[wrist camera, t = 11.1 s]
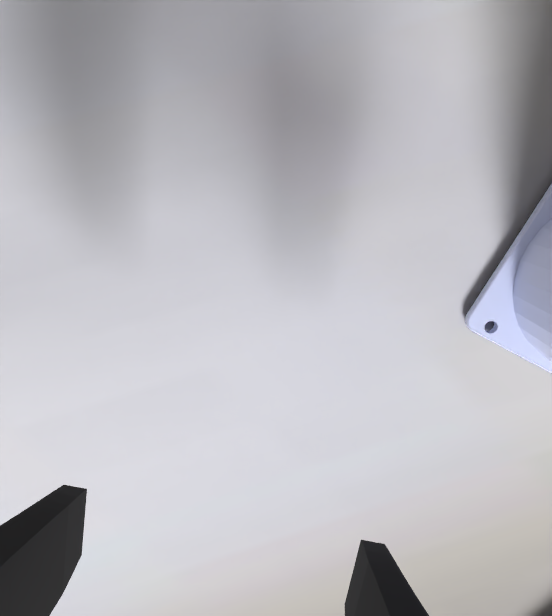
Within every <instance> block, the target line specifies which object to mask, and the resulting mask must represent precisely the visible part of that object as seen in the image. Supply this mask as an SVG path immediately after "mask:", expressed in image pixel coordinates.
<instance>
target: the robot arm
mask: <svg viewBox="0 0 552 616" xmlns="http://www.w3.org/2000/svg"><path fill="white" fill-rule="evenodd" d="M489 321H494V326H493V328H492V329H491V330H488V331H486V330H485V329H484V327H485V324H486V323H487V322H489ZM465 323H466V325H467V327H468V328H469V329H470V330H472V331H473V332H474V333H476V334H478V335H480V336H482V337H484V338H486V339H488V340H490V341H492V342H493V343H495V344H497V345H499V346H501V347H503V348H505V349H507V350H509V351H510V352H512V353H514V354H516V355H518V356H520V357H522V358H524V359H526V360H528V361H529V362H531V363H533V364H535V365H537V366H539V367H541V368H543V369H545V370H546V371H548V372H550V373H552V183H551V185H550V187H549V188H548V190H547V191H546V193H545V194H544V196H543V197H542V199H541V200H540V202H539V203H538V205H537V207H536V208H535V210H534V211H533V213H532V214H531V216H530V217H529V219H528V220H527V222H526V223H525V225H524V227H523V228H522V230H521V231H520V233H519V234H518V236H517V237H516V239H515V240H514V242H513V244H512V245H511V247H510V248H509V250H508V251H507V253H506V254H505V256H504V257H503V259H502V260H501V262H500V264H499V265H498V267H497V268H496V270H495V271H494V273H493V274H492V276H491V277H490V279H489V280H488V282H487V284H486V285H485V287H484V288H483V290H482V291H481V293H480V294H479V296H478V297H477V299H476V300H475V302H474V304H473V305H472V307H471V308H470V310H469V311H468V313H467V315H466V317H465ZM86 493H87V489H84V488H78V487H73V486H68V485H63V486H61V487H60V488H58V489H57V490H55V491H53V492H52V493H50V494H49V495H47V496H46V497H44V498H43V499H41V500H40V501H38V502H36V503H35V504H33V505H32V506H30V507H29V508H27V509H26V510H24V511H23V512H21V513H20V514H18V515H17V516H15V517H13V518H12V519H10V520H9V521H7V522H5V523H4V524H2V525H1V526H0V616H49V615H50V614H51V612H52V610H53V609H54V607H55V606H56V604H57V602H58V601H59V599H60V597H61V596H62V594H63V592H64V590H65V588H66V586H67V584H68V582H69V580H70V578H71V576H72V574H73V572H74V570H75V567H76V565H77V563H78V561H79V559H80V557H81V555H82V542H83V530H84V518H85V505H86ZM345 616H429V615H428V613H427V612H426V610H425V609H424V607H423V606H422V604H421V603H420V601H419V600H418V598H417V597H416V595H415V593H414V592H413V590H412V589H411V587H410V585H409V584H408V582H407V580H406V579H405V577H404V575H403V574H402V572H401V570H400V569H399V567H398V565H397V564H396V562H395V560H394V559H393V557H392V555H391V554H390V552H389V550H388V549H387V547H386V546H385V544H381V543H375V542H370V541H365V540H361V542H360V546H359V550H358V554H357V558H356V562H355V566H354V570H353V574H352V578H351V582H350V586H349V590H348V594H347V598H346V602H345Z"/></svg>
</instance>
